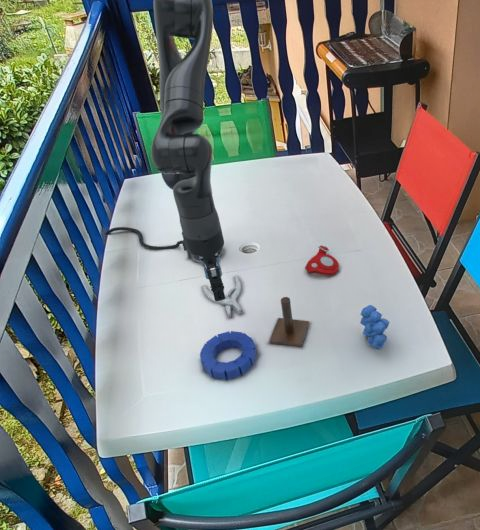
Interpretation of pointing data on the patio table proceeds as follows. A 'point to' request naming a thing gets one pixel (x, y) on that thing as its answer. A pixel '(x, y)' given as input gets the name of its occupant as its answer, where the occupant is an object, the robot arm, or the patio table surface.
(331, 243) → the patio table surface
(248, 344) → the ring
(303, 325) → the post
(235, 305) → the pliers
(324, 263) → the tracker holder
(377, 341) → the grapes
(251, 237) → the patio table surface
